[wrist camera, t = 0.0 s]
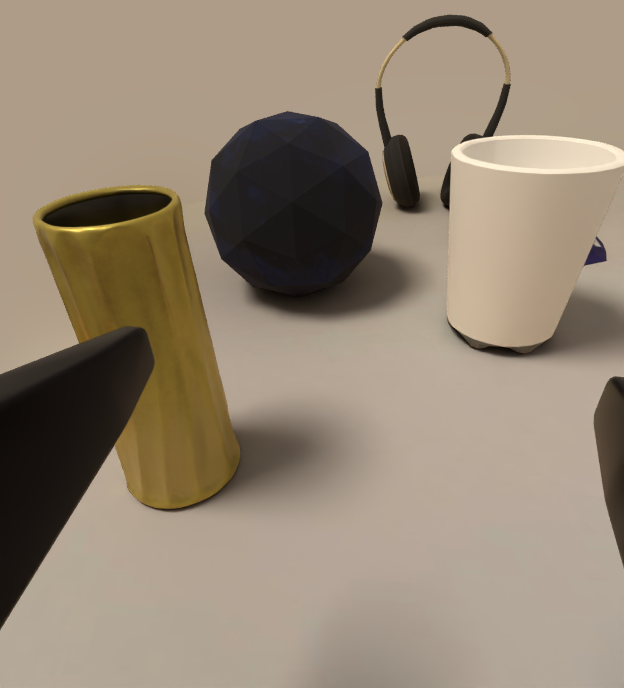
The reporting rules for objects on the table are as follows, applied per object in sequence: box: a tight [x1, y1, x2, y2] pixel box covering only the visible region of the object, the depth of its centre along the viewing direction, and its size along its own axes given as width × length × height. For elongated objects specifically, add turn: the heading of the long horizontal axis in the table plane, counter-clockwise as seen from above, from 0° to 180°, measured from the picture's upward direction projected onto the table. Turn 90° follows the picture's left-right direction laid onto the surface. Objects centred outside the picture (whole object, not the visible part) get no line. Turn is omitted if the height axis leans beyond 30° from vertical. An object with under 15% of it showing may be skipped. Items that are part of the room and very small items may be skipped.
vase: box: [33, 185, 240, 509], centre depth 21 cm, size 6×6×14 cm
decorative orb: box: [205, 111, 382, 297], centre depth 39 cm, size 14×15×15 cm
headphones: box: [375, 15, 510, 207], centre depth 54 cm, size 9×15×20 cm, turn 81°
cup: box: [447, 135, 624, 353], centre depth 31 cm, size 10×10×13 cm
